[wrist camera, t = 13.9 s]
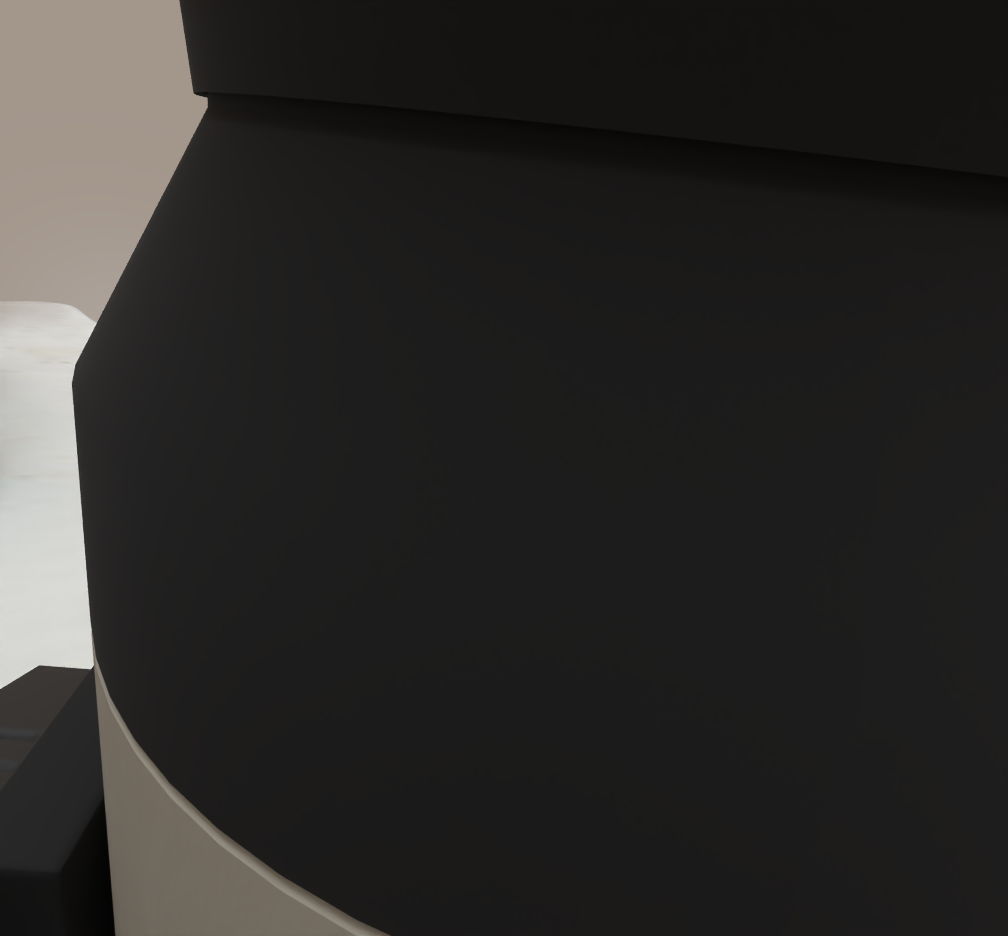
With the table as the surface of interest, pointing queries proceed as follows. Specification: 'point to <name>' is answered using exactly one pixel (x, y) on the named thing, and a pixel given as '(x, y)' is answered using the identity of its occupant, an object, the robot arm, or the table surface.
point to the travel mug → (561, 476)
